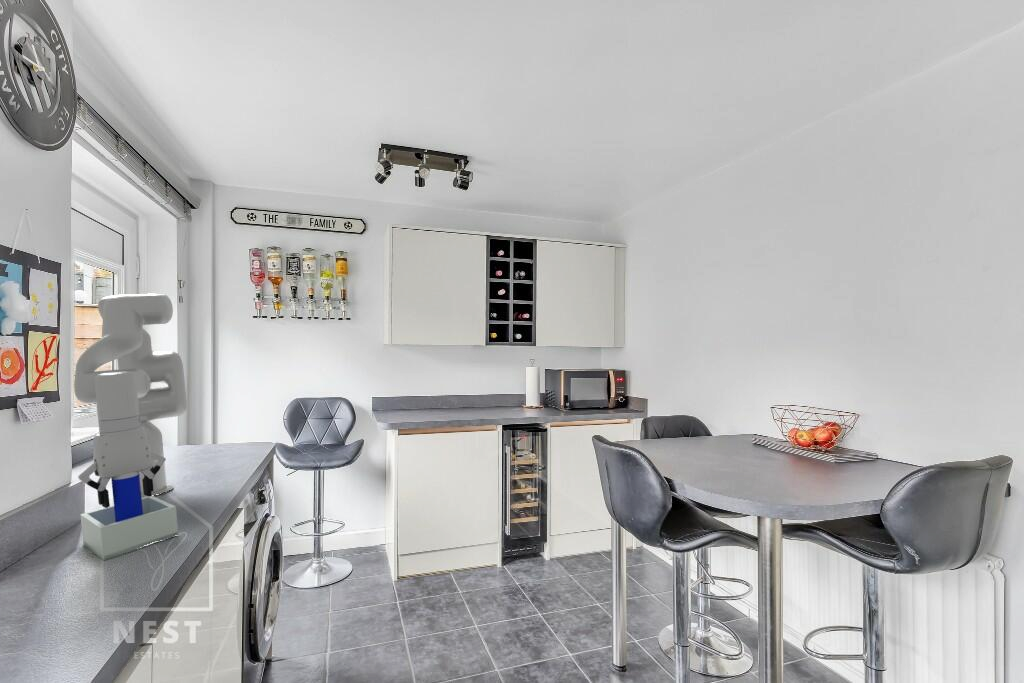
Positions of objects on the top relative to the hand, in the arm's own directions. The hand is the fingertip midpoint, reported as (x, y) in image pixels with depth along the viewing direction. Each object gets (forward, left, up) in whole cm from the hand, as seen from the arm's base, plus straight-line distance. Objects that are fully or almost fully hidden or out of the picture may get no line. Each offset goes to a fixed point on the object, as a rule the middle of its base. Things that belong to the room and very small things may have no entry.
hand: (127, 500), depth 117 cm
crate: (0, 0, -9) cm, 9 cm away
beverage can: (0, 0, -9) cm, 9 cm away
